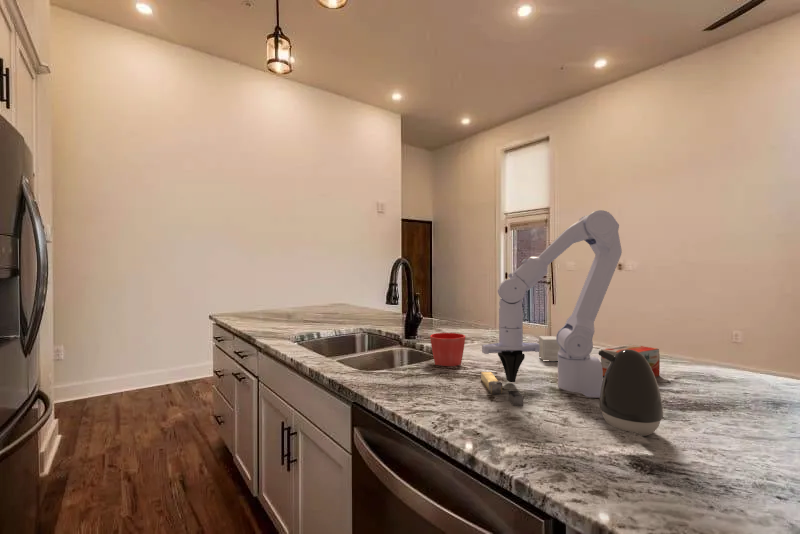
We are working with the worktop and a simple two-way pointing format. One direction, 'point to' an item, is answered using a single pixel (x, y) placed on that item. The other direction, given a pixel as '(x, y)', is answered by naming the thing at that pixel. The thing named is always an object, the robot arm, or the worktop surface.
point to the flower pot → (447, 348)
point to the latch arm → (491, 383)
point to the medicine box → (647, 352)
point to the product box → (548, 348)
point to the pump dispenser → (630, 393)
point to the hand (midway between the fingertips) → (510, 381)
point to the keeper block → (515, 398)
